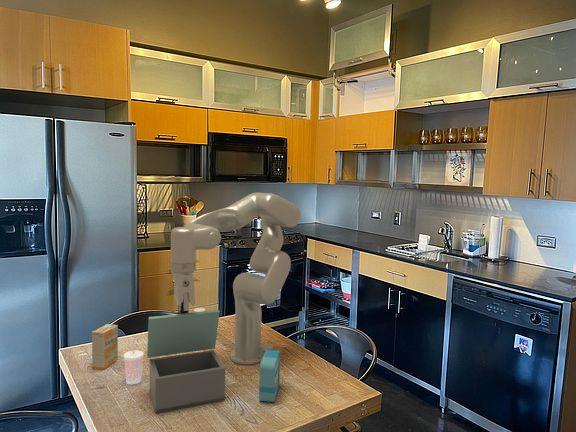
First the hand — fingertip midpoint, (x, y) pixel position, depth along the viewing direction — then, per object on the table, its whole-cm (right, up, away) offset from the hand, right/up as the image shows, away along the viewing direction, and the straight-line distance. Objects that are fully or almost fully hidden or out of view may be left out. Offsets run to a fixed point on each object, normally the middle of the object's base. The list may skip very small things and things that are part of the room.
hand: (183, 324), depth 135 cm
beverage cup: (-17, -19, +4) cm, 26 cm away
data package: (+27, -21, -1) cm, 34 cm away
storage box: (+2, -21, -4) cm, 21 cm away
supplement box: (-31, -18, +15) cm, 39 cm away
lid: (0, -3, -1) cm, 3 cm away
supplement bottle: (-3, -16, +39) cm, 42 cm away
